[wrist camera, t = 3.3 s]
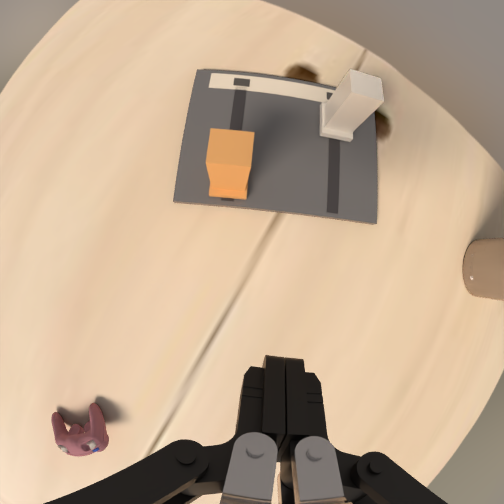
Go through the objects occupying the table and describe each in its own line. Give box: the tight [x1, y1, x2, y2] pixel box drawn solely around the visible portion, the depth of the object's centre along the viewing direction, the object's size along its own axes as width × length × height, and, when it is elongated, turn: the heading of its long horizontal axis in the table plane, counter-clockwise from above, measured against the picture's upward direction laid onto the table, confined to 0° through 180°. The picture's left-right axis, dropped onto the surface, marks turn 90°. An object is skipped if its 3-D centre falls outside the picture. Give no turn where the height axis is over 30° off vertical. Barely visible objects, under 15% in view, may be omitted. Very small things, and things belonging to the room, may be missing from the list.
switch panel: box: [173, 70, 377, 225], centre depth 32 cm, size 24×18×1 cm
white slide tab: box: [320, 69, 384, 142], centre depth 27 cm, size 4×4×10 cm
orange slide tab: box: [206, 128, 254, 200], centre depth 26 cm, size 4×4×10 cm
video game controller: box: [52, 403, 109, 456], centre depth 28 cm, size 10×5×7 cm, turn 114°
